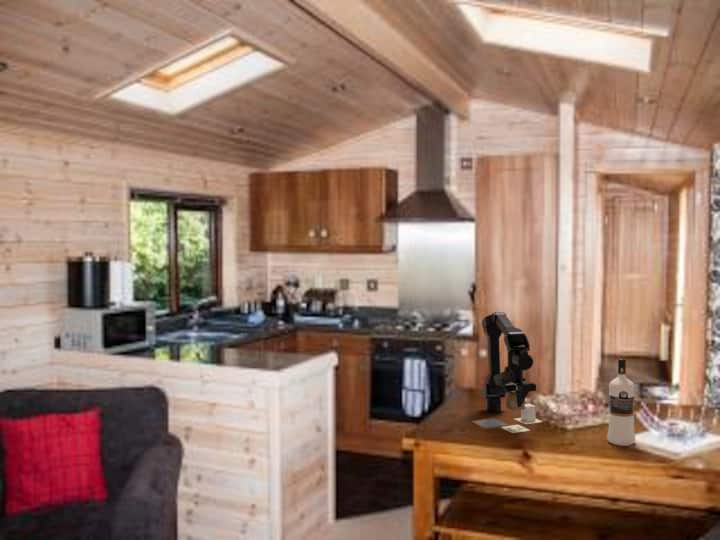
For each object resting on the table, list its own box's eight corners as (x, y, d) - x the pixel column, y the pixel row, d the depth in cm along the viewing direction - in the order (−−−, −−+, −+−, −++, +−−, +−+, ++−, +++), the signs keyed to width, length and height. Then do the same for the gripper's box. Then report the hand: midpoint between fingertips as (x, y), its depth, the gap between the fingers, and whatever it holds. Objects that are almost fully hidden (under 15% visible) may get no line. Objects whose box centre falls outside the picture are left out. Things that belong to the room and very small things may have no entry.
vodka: (635, 439, 238) (636, 356, 236) (635, 447, 229) (636, 362, 227) (607, 437, 241) (608, 355, 239) (607, 445, 233) (607, 360, 231)
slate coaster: (471, 422, 262) (471, 421, 262) (493, 419, 266) (493, 418, 266) (485, 429, 253) (485, 428, 253) (507, 425, 256) (507, 424, 256)
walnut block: (505, 407, 252) (505, 391, 252) (517, 406, 254) (516, 390, 254) (513, 410, 248) (513, 394, 247) (524, 409, 250) (524, 393, 249)
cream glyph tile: (500, 427, 254) (500, 427, 254) (517, 425, 257) (517, 424, 257) (512, 433, 247) (512, 433, 247) (530, 431, 250) (530, 430, 250)
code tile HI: (513, 419, 265) (513, 418, 265) (530, 417, 268) (530, 416, 268) (525, 425, 257) (525, 424, 257) (542, 422, 260) (542, 421, 260)
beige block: (520, 419, 263) (520, 404, 263) (529, 418, 265) (529, 403, 265) (527, 422, 260) (527, 407, 259) (535, 420, 261) (535, 405, 261)
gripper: (483, 361, 256) (483, 401, 257) (511, 371, 238) (511, 414, 239) (507, 359, 260) (507, 398, 261) (537, 368, 242) (537, 410, 244)
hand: (515, 405), depth 251 cm, fingers closed on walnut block, 5 cm apart
